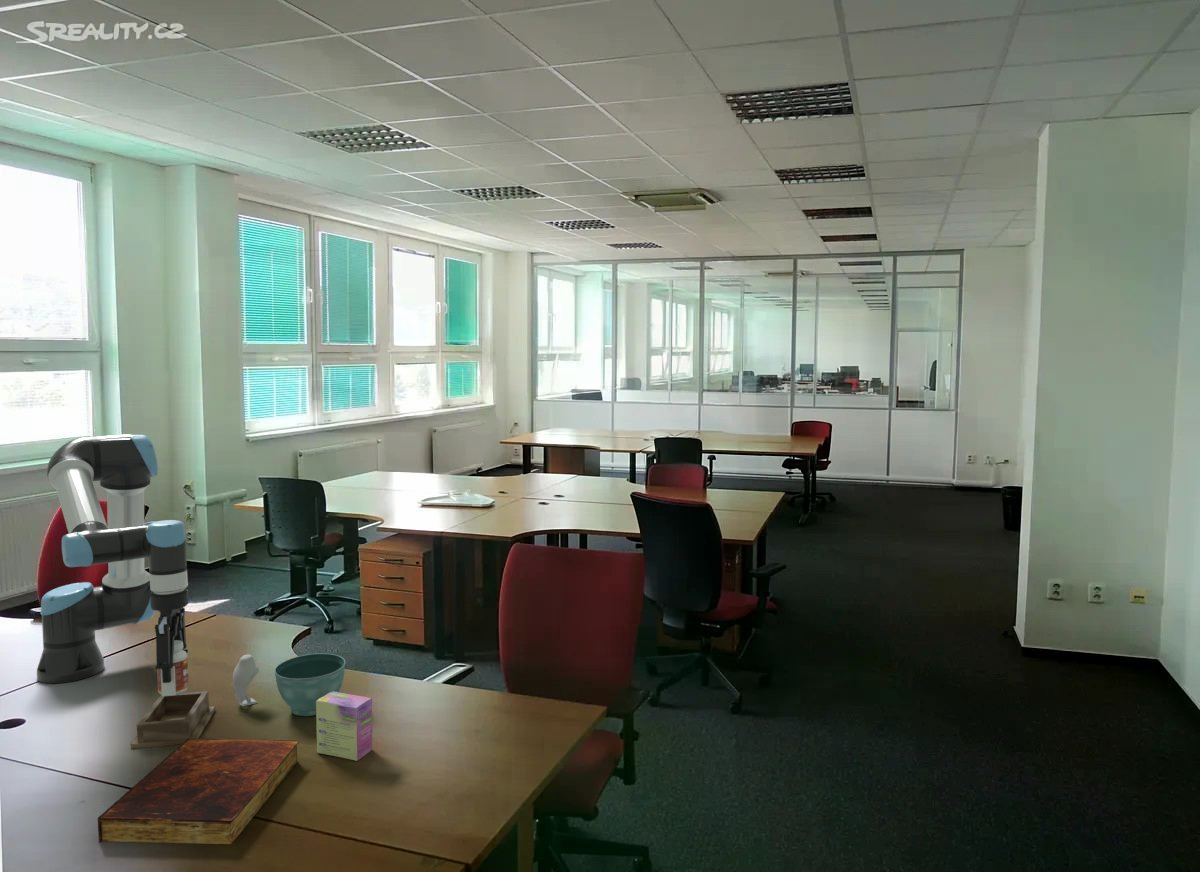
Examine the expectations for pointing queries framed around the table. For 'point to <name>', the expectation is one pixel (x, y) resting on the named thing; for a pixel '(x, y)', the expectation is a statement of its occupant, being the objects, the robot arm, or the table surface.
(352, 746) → the box
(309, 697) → the teal bowl
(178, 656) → the pill bottle
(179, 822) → the book
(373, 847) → the table surface
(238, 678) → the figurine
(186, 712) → the wooden tray
